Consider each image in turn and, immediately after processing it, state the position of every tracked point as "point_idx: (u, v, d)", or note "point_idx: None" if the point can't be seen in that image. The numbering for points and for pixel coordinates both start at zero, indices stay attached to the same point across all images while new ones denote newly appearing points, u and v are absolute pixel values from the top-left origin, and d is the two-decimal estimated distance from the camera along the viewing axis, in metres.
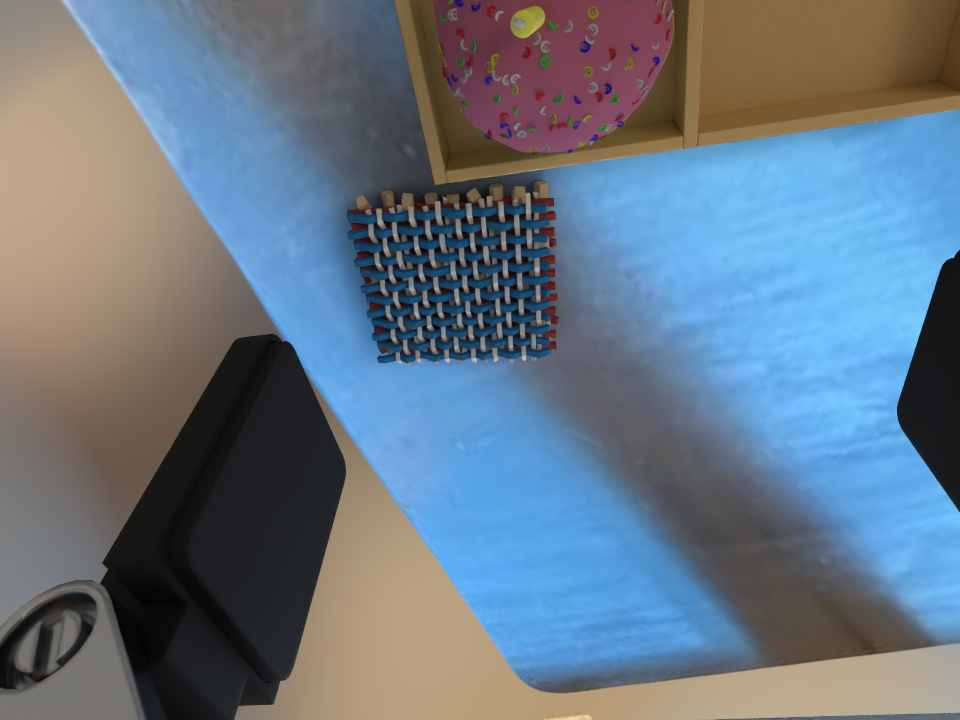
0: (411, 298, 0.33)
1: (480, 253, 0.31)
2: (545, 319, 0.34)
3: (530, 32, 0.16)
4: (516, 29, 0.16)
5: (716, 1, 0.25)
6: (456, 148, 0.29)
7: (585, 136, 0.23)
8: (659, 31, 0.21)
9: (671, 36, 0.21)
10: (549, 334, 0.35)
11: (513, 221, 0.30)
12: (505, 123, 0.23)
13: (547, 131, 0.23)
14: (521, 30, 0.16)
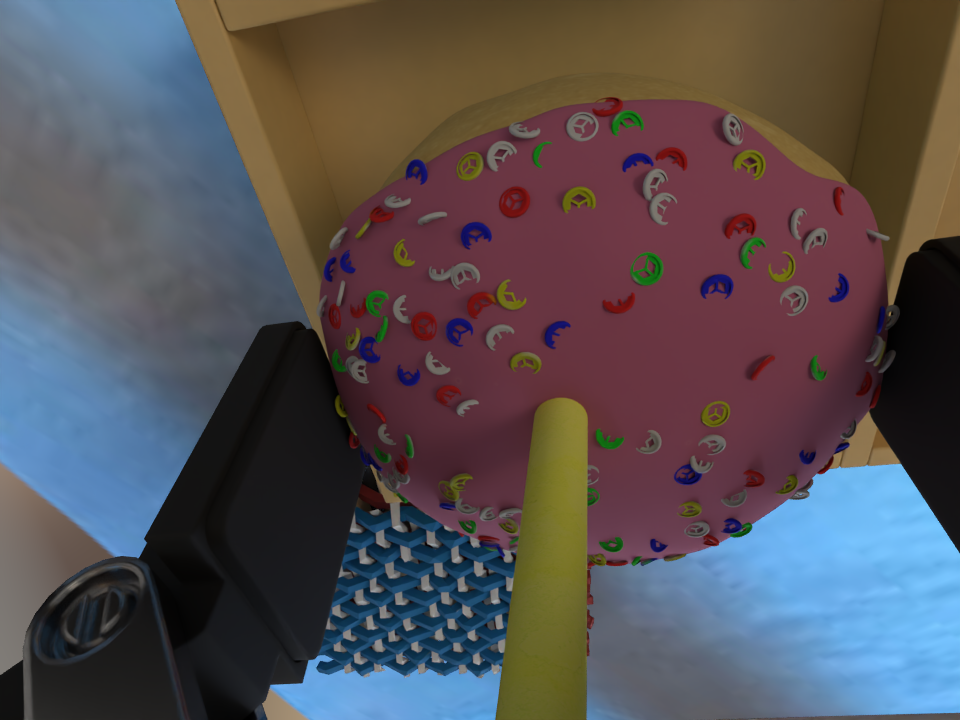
0: (361, 612, 0.21)
1: (469, 566, 0.19)
2: None
3: None
4: None
5: None
6: None
7: None
8: (860, 402, 0.09)
9: None
10: None
11: None
12: (490, 541, 0.10)
13: None
14: None
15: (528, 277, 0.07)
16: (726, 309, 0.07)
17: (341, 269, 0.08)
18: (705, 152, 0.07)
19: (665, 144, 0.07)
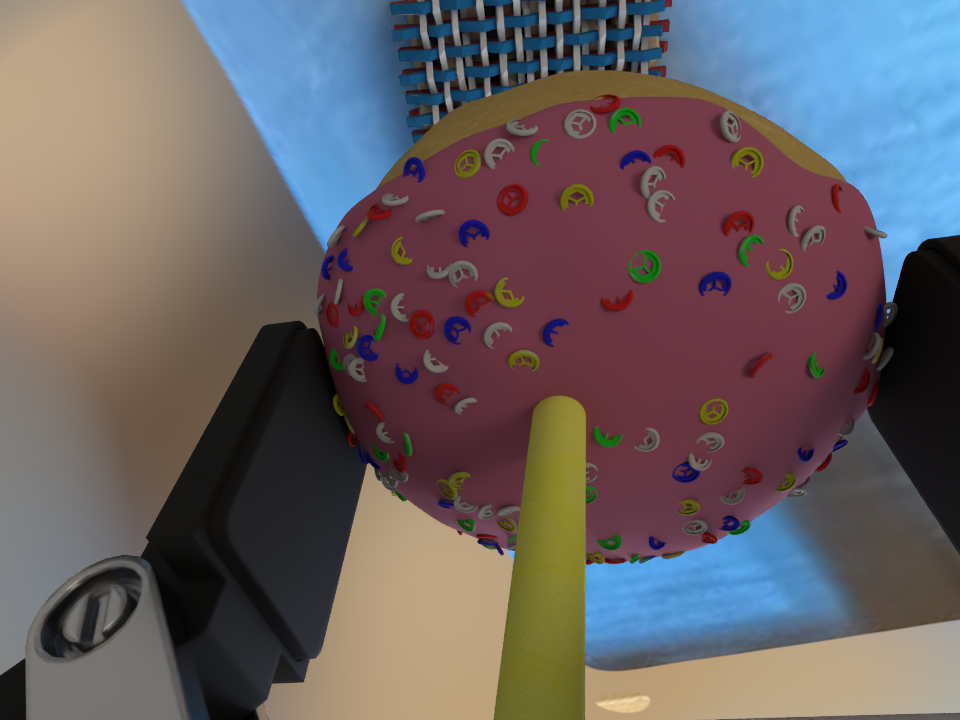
0: None
1: (569, 58, 0.23)
2: None
3: None
4: None
5: None
6: None
7: None
8: (858, 400, 0.09)
9: None
10: None
11: (617, 4, 0.22)
12: (488, 539, 0.10)
13: None
14: None
15: (526, 274, 0.07)
16: (724, 306, 0.07)
17: (339, 267, 0.08)
18: (702, 149, 0.07)
19: (663, 141, 0.07)
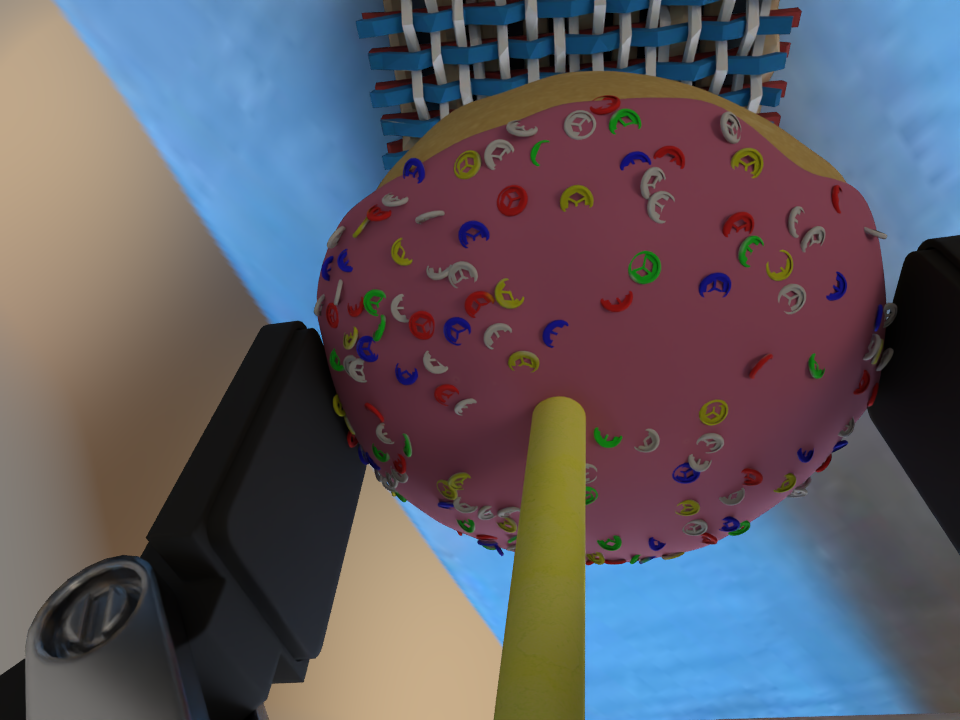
0: None
1: (638, 68, 0.15)
2: None
3: None
4: None
5: None
6: None
7: None
8: (858, 400, 0.09)
9: None
10: None
11: None
12: (488, 540, 0.10)
13: None
14: None
15: (526, 275, 0.07)
16: (724, 307, 0.07)
17: (338, 268, 0.08)
18: (702, 149, 0.07)
19: (663, 142, 0.07)
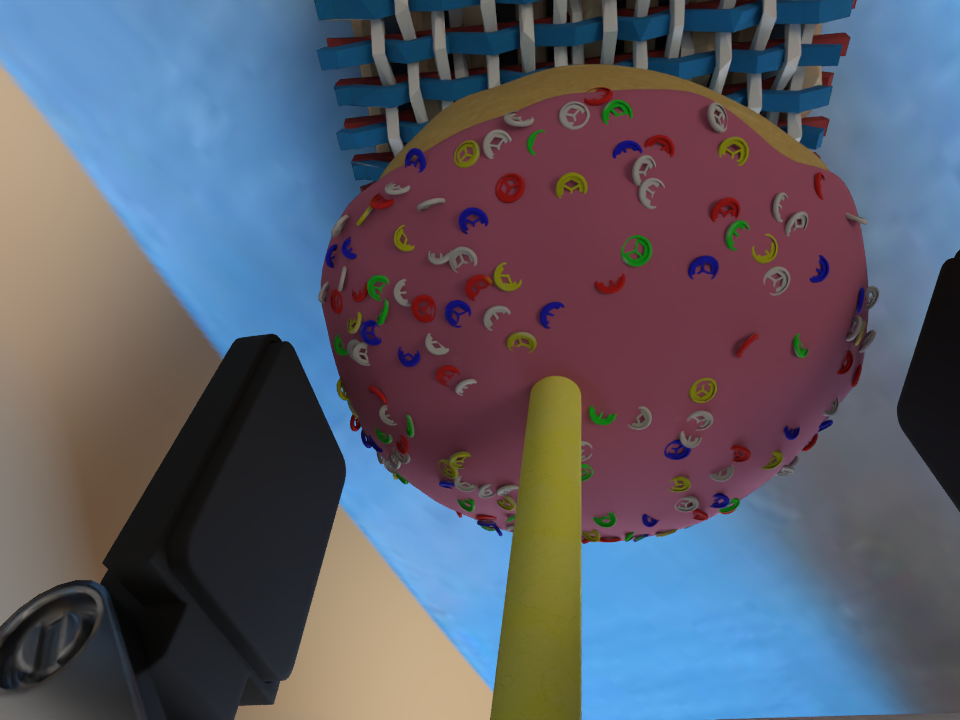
0: None
1: None
2: None
3: None
4: None
5: None
6: None
7: None
8: (842, 380, 0.09)
9: None
10: None
11: (759, 4, 0.11)
12: (488, 520, 0.11)
13: None
14: None
15: (524, 259, 0.07)
16: (712, 288, 0.07)
17: (342, 255, 0.09)
18: (691, 139, 0.07)
19: (653, 132, 0.07)
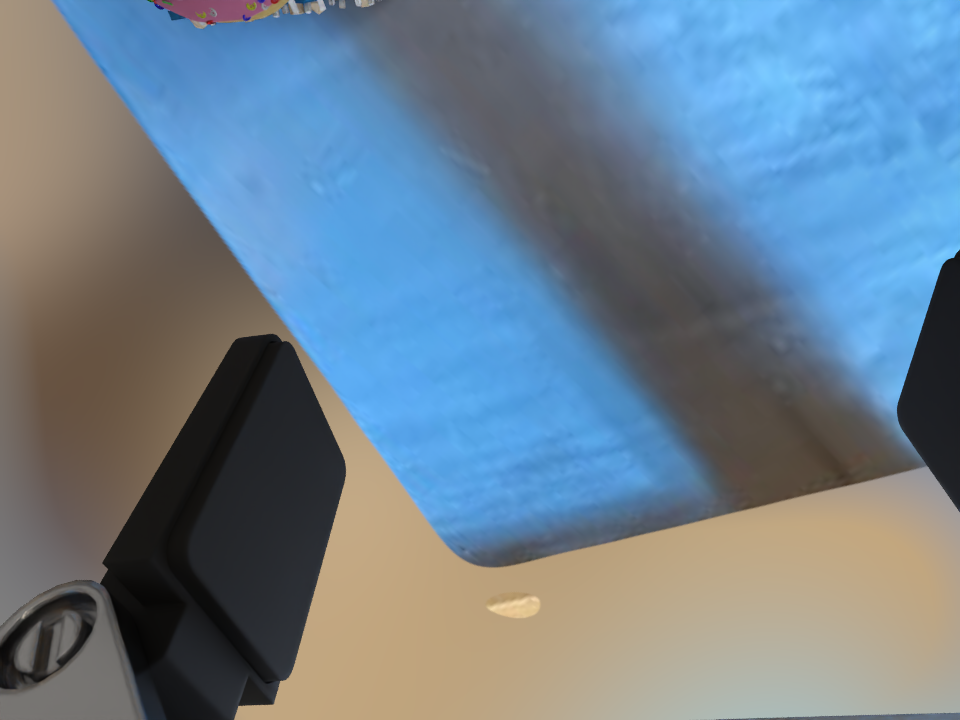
0: None
1: None
2: None
3: None
4: None
5: None
6: None
7: None
8: None
9: None
10: None
11: None
12: None
13: None
14: None
15: None
16: None
17: None
18: None
19: None
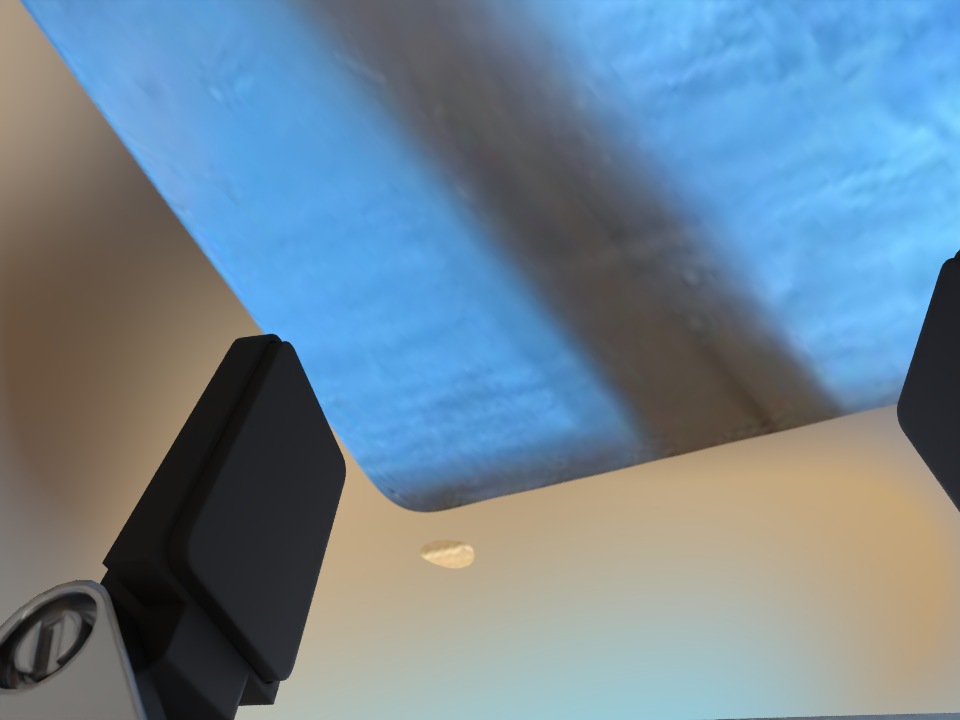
0: None
1: None
2: None
3: None
4: None
5: None
6: None
7: None
8: None
9: None
10: None
11: None
12: None
13: None
14: None
15: None
16: None
17: None
18: None
19: None
